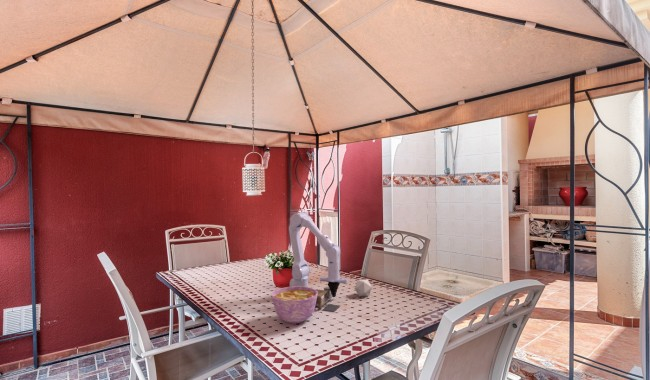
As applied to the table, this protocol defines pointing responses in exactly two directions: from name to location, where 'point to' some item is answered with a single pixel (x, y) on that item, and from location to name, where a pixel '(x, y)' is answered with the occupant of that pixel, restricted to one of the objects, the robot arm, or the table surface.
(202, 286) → the table surface
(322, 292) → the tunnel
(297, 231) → the robot arm
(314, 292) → the bowl of food
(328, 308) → the dark grey plate
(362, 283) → the die
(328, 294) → the hook
